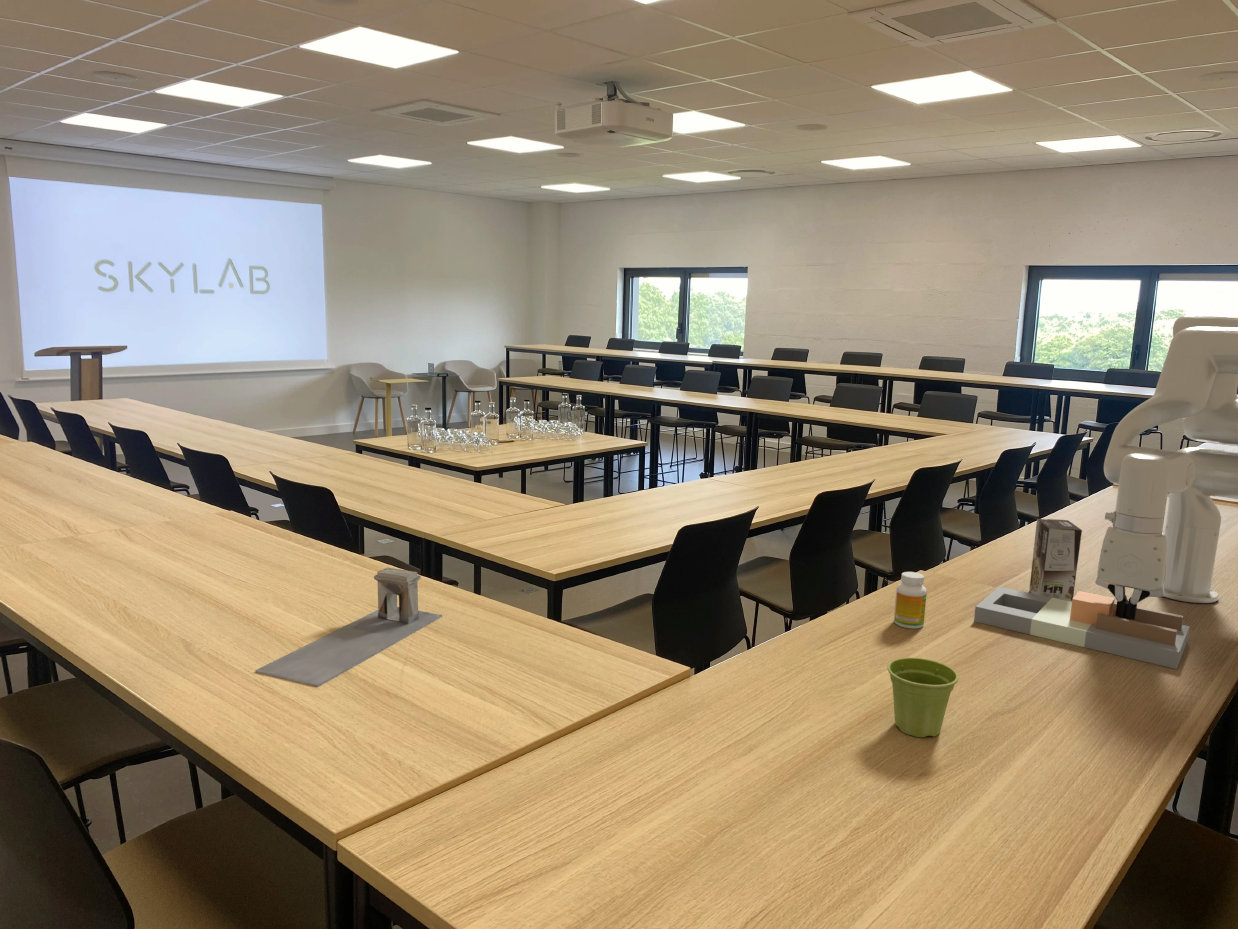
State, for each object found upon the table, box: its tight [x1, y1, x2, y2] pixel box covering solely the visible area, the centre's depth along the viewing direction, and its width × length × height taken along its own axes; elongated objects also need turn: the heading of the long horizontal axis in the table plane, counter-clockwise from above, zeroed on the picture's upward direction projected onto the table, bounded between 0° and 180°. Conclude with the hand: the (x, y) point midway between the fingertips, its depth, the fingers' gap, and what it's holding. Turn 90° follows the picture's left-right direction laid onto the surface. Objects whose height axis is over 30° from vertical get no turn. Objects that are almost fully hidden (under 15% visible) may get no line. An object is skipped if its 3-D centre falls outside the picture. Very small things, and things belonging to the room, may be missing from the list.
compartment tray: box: [973, 586, 1191, 670], centre depth 160 cm, size 16×33×6 cm, turn 51°
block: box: [1070, 590, 1116, 625], centre depth 158 cm, size 6×6×4 cm
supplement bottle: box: [893, 571, 928, 630], centre depth 161 cm, size 5×5×10 cm
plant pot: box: [886, 656, 960, 738], centre depth 121 cm, size 9×9×9 cm
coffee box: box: [1028, 518, 1083, 602], centre depth 178 cm, size 9×6×16 cm
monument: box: [255, 566, 443, 688], centre depth 147 cm, size 12×33×10 cm, turn 158°
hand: (1124, 621), depth 156 cm, fingers closed
